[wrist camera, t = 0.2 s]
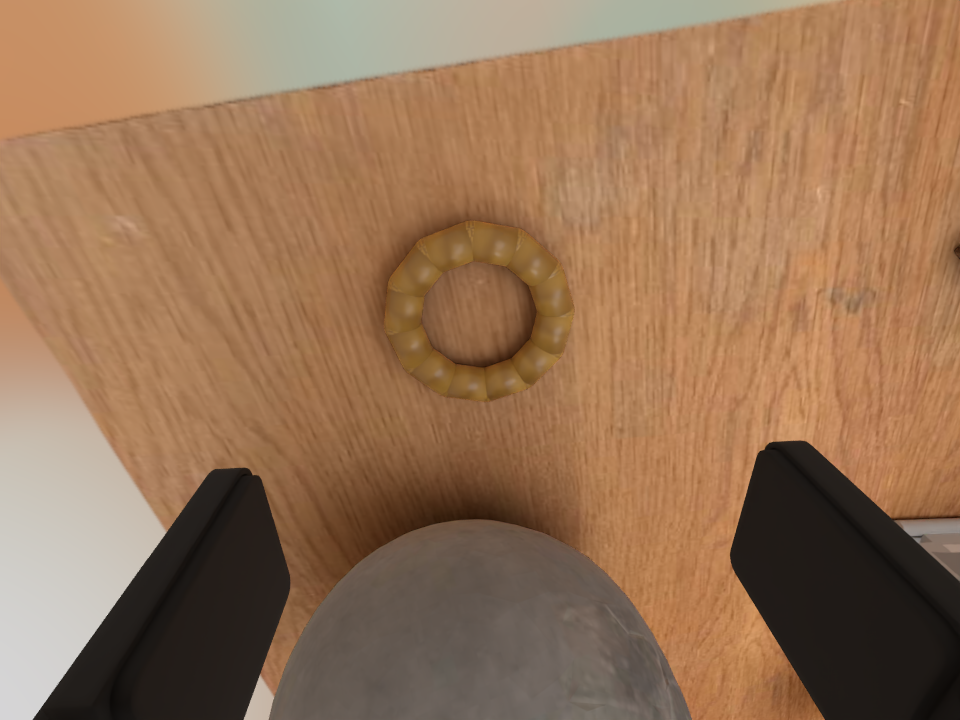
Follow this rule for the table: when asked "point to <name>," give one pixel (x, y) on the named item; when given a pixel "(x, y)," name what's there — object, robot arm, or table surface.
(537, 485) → the table surface
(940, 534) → the handheld gaming console
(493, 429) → the table surface
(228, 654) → the robot arm
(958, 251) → the stand
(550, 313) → the ring
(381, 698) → the bowl
